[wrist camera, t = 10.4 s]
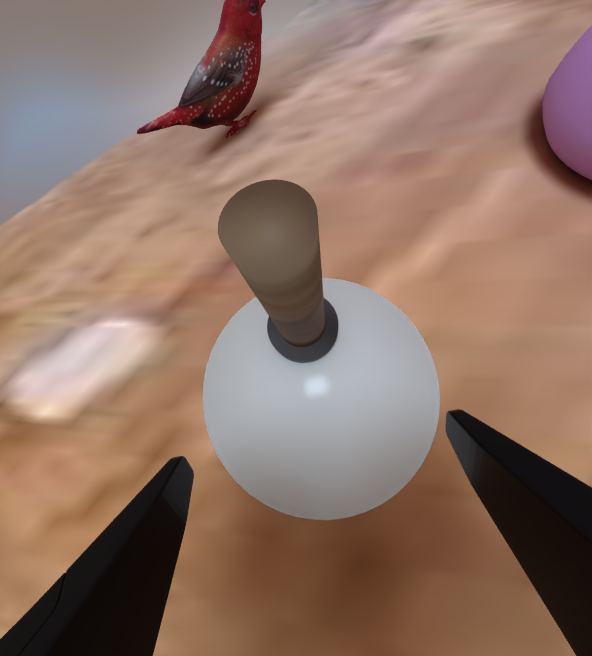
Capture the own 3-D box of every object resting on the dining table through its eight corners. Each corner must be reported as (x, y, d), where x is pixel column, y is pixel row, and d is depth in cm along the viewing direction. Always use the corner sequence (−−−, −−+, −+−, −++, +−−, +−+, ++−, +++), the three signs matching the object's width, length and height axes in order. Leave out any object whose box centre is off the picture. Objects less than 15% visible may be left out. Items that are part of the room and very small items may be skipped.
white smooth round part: (412, 558, 17) (417, 567, 16) (174, 463, 21) (166, 466, 20) (449, 307, 22) (455, 302, 21) (249, 266, 25) (246, 260, 24)
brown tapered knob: (328, 371, 20) (322, 308, 8) (261, 352, 21) (167, 273, 9) (345, 305, 22) (363, 167, 9) (281, 291, 23) (223, 152, 11)
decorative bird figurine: (288, 98, 32) (271, -35, 22) (182, 193, 29) (111, 89, 20) (272, 89, 33) (248, -41, 23) (167, 181, 30) (92, 76, 21)
